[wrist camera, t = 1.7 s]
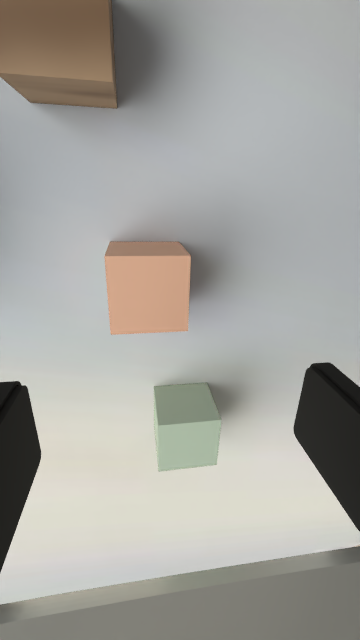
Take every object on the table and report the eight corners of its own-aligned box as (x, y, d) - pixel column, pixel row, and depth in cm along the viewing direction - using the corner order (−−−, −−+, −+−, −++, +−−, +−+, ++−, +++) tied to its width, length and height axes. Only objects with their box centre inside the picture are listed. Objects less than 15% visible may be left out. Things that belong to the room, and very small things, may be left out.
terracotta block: (110, 241, 21) (104, 256, 17) (178, 241, 22) (190, 255, 17) (114, 306, 23) (110, 334, 19) (176, 304, 24) (187, 330, 19)
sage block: (153, 385, 27) (158, 425, 22) (206, 382, 28) (221, 419, 23) (154, 427, 29) (158, 471, 24) (203, 422, 30) (216, 464, 25)
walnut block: (13, -14, 15) (-37, -100, 11) (111, -2, 16) (104, -77, 11) (30, 103, 17) (-5, 72, 13) (117, 108, 18) (112, 82, 13)
